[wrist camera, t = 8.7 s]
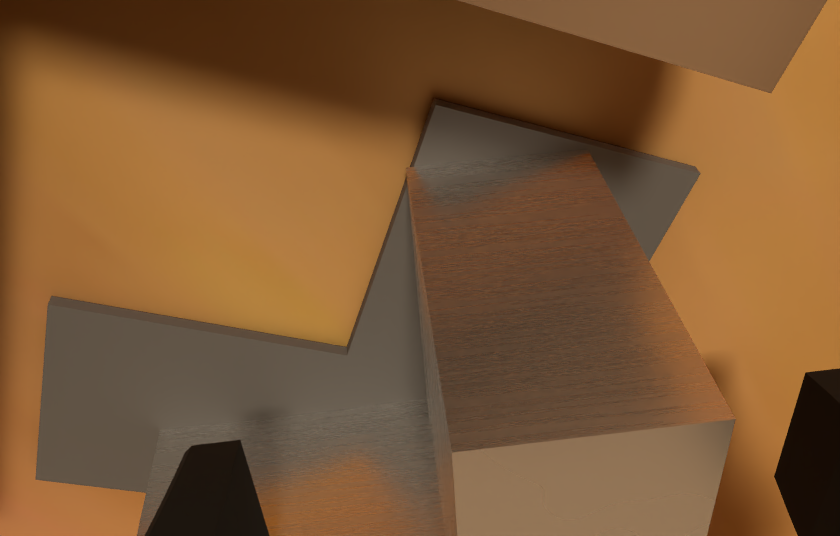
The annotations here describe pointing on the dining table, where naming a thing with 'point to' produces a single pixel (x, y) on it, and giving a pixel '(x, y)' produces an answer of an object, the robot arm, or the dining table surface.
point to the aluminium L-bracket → (506, 383)
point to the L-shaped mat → (278, 355)
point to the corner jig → (684, 31)
